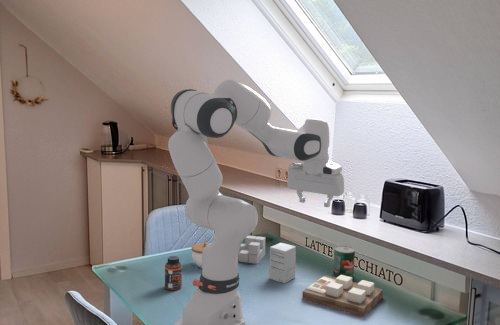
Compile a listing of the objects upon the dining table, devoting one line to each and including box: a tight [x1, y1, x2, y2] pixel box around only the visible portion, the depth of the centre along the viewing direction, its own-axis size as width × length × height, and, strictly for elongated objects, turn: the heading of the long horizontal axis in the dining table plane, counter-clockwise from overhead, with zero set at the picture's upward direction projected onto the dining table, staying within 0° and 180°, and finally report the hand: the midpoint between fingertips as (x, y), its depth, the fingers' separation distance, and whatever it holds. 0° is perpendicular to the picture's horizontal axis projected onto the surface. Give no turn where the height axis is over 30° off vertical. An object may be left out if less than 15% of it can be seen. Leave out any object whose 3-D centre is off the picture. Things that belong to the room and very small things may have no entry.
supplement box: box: [268, 242, 297, 284], centre depth 185 cm, size 7×7×13 cm
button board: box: [301, 274, 384, 318], centre depth 169 cm, size 18×22×3 cm
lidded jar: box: [191, 242, 210, 269], centre depth 197 cm, size 11×11×9 cm
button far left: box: [336, 275, 353, 290], centre depth 172 cm, size 4×4×3 cm
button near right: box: [348, 287, 366, 304], centre depth 162 cm, size 4×4×3 cm
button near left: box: [326, 282, 343, 297], centre depth 166 cm, size 4×4×3 cm
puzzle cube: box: [238, 234, 266, 264], centre depth 207 cm, size 12×12×8 cm
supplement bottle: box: [164, 255, 183, 291], centre depth 174 cm, size 6×6×11 cm
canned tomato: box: [332, 245, 356, 280], centre depth 188 cm, size 8×8×11 cm
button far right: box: [357, 279, 375, 295], centre depth 168 cm, size 4×4×3 cm
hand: (314, 204), depth 170 cm, fingers open, 8 cm apart
